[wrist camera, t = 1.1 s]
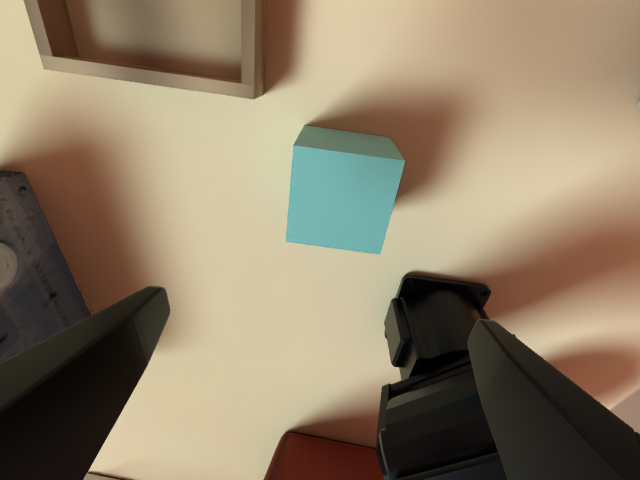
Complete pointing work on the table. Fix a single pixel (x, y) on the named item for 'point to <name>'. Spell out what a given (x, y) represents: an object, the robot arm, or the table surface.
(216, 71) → the tray
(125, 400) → the robot arm
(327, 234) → the cube
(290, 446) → the plant pot
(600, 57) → the table surface
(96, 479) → the file sorter
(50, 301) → the vhs cassette tape
